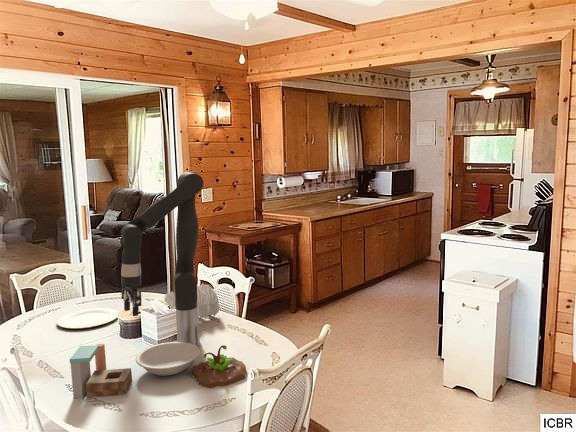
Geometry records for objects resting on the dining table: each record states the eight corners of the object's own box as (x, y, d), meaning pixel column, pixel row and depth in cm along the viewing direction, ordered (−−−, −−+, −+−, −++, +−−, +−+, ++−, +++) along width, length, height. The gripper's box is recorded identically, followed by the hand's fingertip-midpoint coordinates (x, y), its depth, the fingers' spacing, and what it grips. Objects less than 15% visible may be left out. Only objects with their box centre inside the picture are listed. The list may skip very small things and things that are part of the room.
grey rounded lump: (219, 323, 242) (178, 335, 224) (200, 302, 252) (159, 312, 234) (229, 295, 235) (187, 305, 217) (209, 274, 245) (168, 282, 227)
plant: (254, 379, 174) (253, 350, 173) (203, 392, 165) (202, 362, 164) (234, 359, 192) (233, 332, 190) (187, 370, 183) (186, 342, 181)
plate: (98, 307, 260) (98, 304, 259) (131, 317, 243) (130, 314, 242) (45, 324, 236) (45, 320, 236) (77, 336, 219) (77, 332, 219)
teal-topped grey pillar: (101, 382, 173) (98, 344, 172) (92, 397, 163) (89, 357, 161) (83, 383, 173) (80, 346, 171) (73, 399, 162) (69, 359, 160)
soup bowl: (131, 365, 187) (129, 349, 186) (189, 352, 198) (188, 337, 198) (144, 391, 166) (143, 374, 165) (209, 374, 178) (208, 358, 177)
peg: (107, 373, 181) (105, 343, 179) (105, 377, 177) (103, 347, 176) (98, 373, 180) (95, 344, 179) (95, 378, 177) (93, 347, 175)
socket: (132, 380, 174) (131, 368, 173) (125, 394, 164) (124, 381, 164) (95, 383, 173) (94, 370, 172) (87, 397, 163) (86, 383, 162)
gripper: (147, 276, 186) (147, 316, 188) (133, 269, 197) (133, 307, 199) (129, 278, 182) (129, 319, 183) (115, 271, 192) (115, 310, 194)
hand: (131, 313), depth 191 cm, fingers open, 8 cm apart
